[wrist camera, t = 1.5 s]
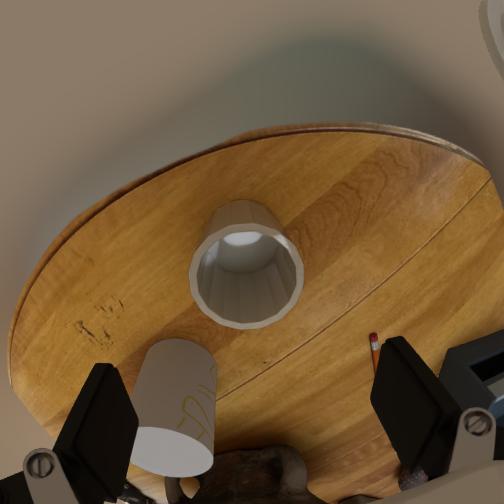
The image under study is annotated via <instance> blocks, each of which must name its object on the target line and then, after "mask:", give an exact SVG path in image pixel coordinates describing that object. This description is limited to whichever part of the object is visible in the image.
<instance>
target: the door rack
mask: <svg viewBox="0 0 504 504" xmlns="http://www.w3.org/2000/svg"><path fill="white" fill-rule="evenodd" d="M438 379H439V381H440V382H441V383H442V385H443V386H444V387H445V388H446V390H447V391H448V392H449V393H450V395H451V396H452V397H453V399H454V400H455V401H456V402H457V404H458V405H459V406H460V408H461V410H462V411H463V412H464V411H465V410H467V409H469V408H473V407H480V408H484V409H486V410H488V411H489V412H490V413H491V414H492V415H493V416H494V418H495V420H496V425H497V426H502V427H504V330H501V331H499V332H496V333H493V334H491V335H488V336H486V337H483V338H480V339H477V340H475V341H472V342H469V343H466V344H463V345H460V346H457V347H454V348H451V349H448V351H447V354H446V357H445V360H444V363H443V366H442V369H441V372H440V374H439V377H438Z"/></svg>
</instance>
